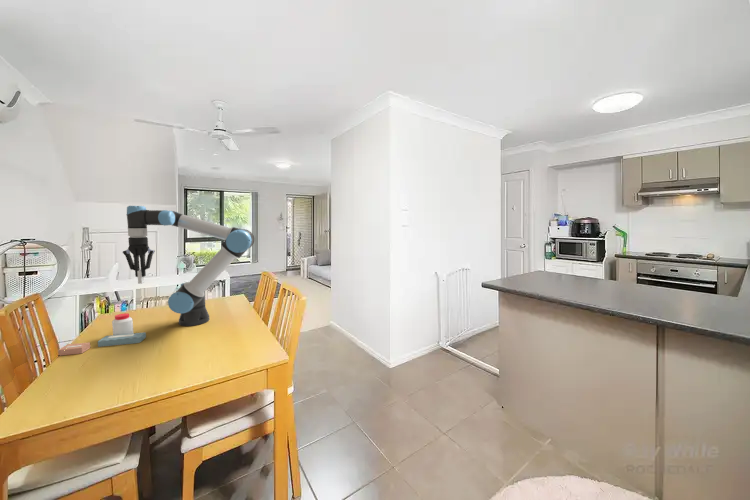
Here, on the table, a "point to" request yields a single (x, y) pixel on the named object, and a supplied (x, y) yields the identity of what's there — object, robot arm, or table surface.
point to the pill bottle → (122, 324)
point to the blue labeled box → (122, 339)
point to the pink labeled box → (74, 348)
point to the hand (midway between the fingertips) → (141, 282)
